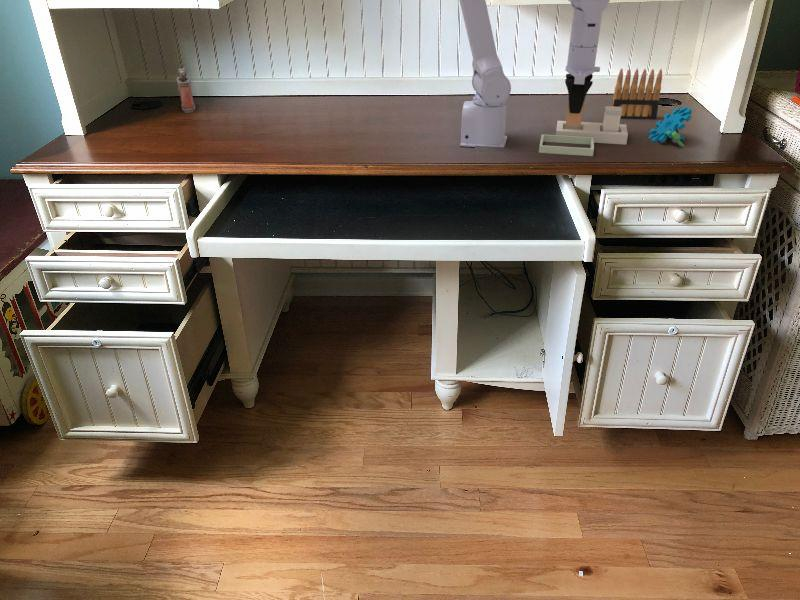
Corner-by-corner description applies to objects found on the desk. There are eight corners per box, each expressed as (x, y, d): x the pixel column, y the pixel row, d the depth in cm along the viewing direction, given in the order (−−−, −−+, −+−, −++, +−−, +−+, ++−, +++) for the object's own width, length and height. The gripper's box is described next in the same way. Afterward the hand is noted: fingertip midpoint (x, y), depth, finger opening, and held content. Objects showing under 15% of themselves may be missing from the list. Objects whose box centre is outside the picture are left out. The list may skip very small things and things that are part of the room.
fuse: (601, 139, 141) (605, 110, 137) (600, 134, 143) (605, 106, 140) (617, 140, 140) (622, 111, 137) (616, 135, 143) (621, 106, 139)
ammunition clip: (609, 120, 155) (618, 69, 148) (608, 118, 156) (617, 67, 150) (655, 122, 153) (666, 70, 147) (654, 119, 155) (664, 68, 149)
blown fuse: (565, 125, 141) (568, 95, 138) (565, 120, 144) (569, 91, 140) (580, 126, 140) (585, 96, 137) (581, 121, 143) (585, 92, 140)
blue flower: (644, 126, 145) (685, 97, 139) (660, 144, 147) (700, 116, 141) (648, 148, 137) (692, 118, 131) (665, 167, 139) (708, 138, 133)
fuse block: (554, 142, 141) (556, 131, 140) (556, 131, 148) (557, 120, 146) (625, 147, 138) (627, 135, 137) (624, 135, 145) (626, 124, 143)
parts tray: (538, 155, 134) (539, 145, 133) (540, 143, 141) (541, 134, 140) (592, 158, 132) (594, 149, 131) (592, 146, 139) (593, 137, 138)
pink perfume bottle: (181, 105, 172) (174, 66, 167) (194, 103, 173) (187, 65, 168) (182, 113, 166) (174, 73, 161) (195, 111, 167) (188, 71, 161)
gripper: (604, 52, 126) (594, 121, 134) (602, 39, 138) (593, 102, 146) (567, 51, 128) (559, 119, 135) (569, 38, 140) (561, 101, 147)
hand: (574, 110), depth 140 cm, fingers closed on blown fuse, 3 cm apart
